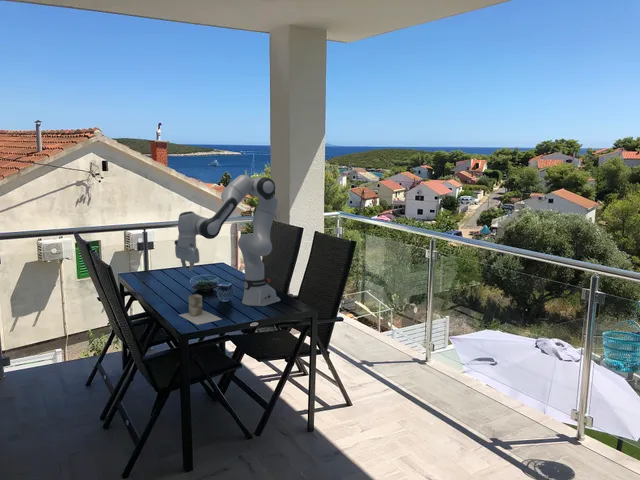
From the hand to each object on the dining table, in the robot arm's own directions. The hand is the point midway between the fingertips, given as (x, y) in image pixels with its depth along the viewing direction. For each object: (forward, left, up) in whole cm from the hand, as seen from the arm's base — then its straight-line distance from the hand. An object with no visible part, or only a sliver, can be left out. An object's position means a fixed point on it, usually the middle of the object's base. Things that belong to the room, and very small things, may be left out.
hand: (187, 268), depth 250 cm
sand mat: (0, +13, -23) cm, 27 cm away
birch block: (0, +8, -23) cm, 24 cm away
